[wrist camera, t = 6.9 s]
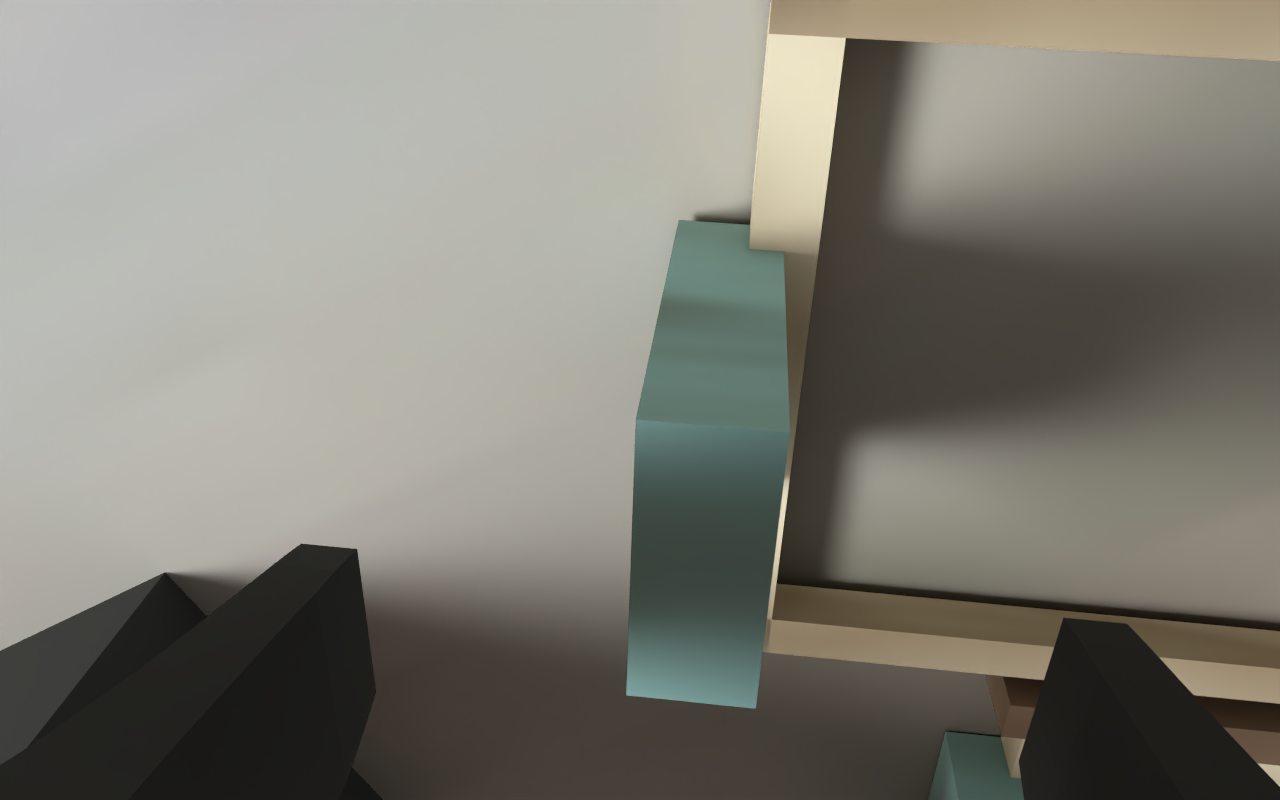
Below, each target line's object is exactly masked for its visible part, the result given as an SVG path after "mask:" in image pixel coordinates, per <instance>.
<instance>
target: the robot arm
mask: <svg viewBox="0 0 1280 800" xmlns="http://www.w3.org/2000/svg"><path fill="white" fill-rule="evenodd" d="M375 693H376V689H375V681H374V673H373V666H372V658H371V651H370V643H369V636H368V628H367V621H366V613H365V605H364V598H363V590H362V583H361V575H360V568H359V560H358V552H357V549H350V548H340V547H329V546H319V545H309V544H300V545H299V546H297V547H296V548H295V549H293V550H292V551H291V552H289V553H288V554H287V555H285V556H284V557H283V558H281V559H280V560H279V561H278V562H276V563H275V564H274V565H272V566H271V567H270V568H269V569H267V570H266V571H265V572H264V573H262V574H261V575H260V576H259V577H257V578H256V579H255V580H253V581H252V582H251V583H250V584H248V585H247V586H246V587H245V588H243V589H242V590H241V591H240V592H238V593H237V594H236V595H235V596H233V597H232V598H231V599H230V600H228V601H227V602H226V603H224V604H223V605H222V606H221V607H219V608H218V609H217V610H216V611H214V612H213V613H212V614H210V615H209V616H208V617H207V618H205V619H204V620H203V621H202V622H200V623H199V624H198V625H196V626H195V627H194V628H192V629H191V630H190V631H188V632H187V633H186V634H185V635H183V636H182V637H181V638H179V639H178V640H177V641H175V642H174V643H173V644H171V645H170V646H169V647H168V648H166V649H165V650H164V651H162V652H161V653H160V654H158V655H157V656H156V657H154V658H153V659H152V660H151V661H149V662H148V663H147V664H145V665H144V666H143V667H141V668H140V669H139V670H137V671H136V672H135V673H133V674H132V675H130V676H129V677H128V678H126V679H125V680H123V681H122V682H121V683H119V684H118V685H116V686H115V687H113V688H112V689H111V690H109V691H108V692H106V693H105V694H103V695H102V696H101V697H99V698H98V699H96V700H95V701H93V702H92V703H91V704H89V705H88V706H86V707H85V708H84V709H82V710H81V711H79V712H78V713H76V714H75V715H74V716H72V717H71V718H69V719H68V720H66V721H65V722H64V723H62V724H61V725H59V726H58V727H56V728H55V729H54V730H52V731H51V732H49V733H48V734H47V735H45V736H44V737H42V738H41V739H39V740H38V741H36V742H35V743H33V744H32V745H30V746H29V747H27V748H26V749H24V750H23V751H21V752H20V753H18V754H17V755H15V756H14V757H12V758H10V759H9V760H7V761H6V762H4V763H3V764H1V765H0V800H338V799H339V797H340V795H341V793H342V790H343V788H344V786H345V784H346V782H347V779H348V776H349V773H350V770H351V767H352V764H353V761H354V758H355V755H356V752H357V749H358V747H359V744H360V741H361V738H362V734H363V731H364V728H365V725H366V722H367V719H368V715H369V712H370V709H371V706H372V703H373V699H374V696H375ZM1019 768H1020V775H1021V782H1022V789H1023V796H1024V800H1280V786H1279V785H1278V784H1277V783H1276V782H1275V781H1274V780H1273V779H1272V778H1271V777H1270V776H1269V775H1268V774H1267V773H1266V772H1265V771H1264V770H1263V769H1262V768H1261V767H1260V766H1259V765H1258V764H1257V763H1256V762H1255V761H1254V759H1253V758H1252V757H1251V756H1250V755H1249V754H1248V753H1247V752H1246V751H1245V750H1244V749H1243V748H1242V747H1241V746H1240V745H1239V744H1238V742H1237V741H1236V740H1235V739H1234V738H1233V737H1232V736H1231V735H1230V734H1229V733H1228V732H1227V731H1226V730H1225V729H1224V727H1223V726H1222V725H1221V724H1220V723H1219V722H1218V721H1217V720H1216V719H1215V718H1214V717H1213V716H1212V715H1211V713H1210V712H1209V711H1208V710H1207V709H1206V708H1205V707H1204V706H1203V705H1202V704H1201V703H1200V702H1199V700H1198V699H1197V698H1196V697H1195V696H1194V695H1193V694H1192V693H1191V692H1190V691H1189V690H1188V688H1187V687H1186V686H1185V685H1184V684H1183V683H1182V682H1181V681H1180V680H1179V679H1178V678H1177V676H1176V675H1175V674H1174V673H1173V672H1172V671H1171V670H1170V669H1169V668H1168V667H1167V666H1166V664H1165V663H1164V662H1163V661H1162V660H1161V659H1160V658H1159V657H1158V656H1157V655H1156V654H1155V652H1154V651H1153V650H1152V649H1151V648H1150V647H1149V646H1148V645H1147V644H1146V643H1145V642H1144V641H1143V640H1142V639H1141V638H1140V637H1139V635H1138V634H1137V633H1136V632H1135V631H1134V630H1133V629H1132V628H1131V627H1130V626H1129V625H1128V624H1126V623H1115V622H1105V621H1095V620H1084V619H1074V618H1064V617H1063V620H1062V624H1061V627H1060V630H1059V633H1058V636H1057V640H1056V643H1055V646H1054V649H1053V652H1052V656H1051V659H1050V662H1049V665H1048V668H1047V672H1046V675H1045V678H1044V681H1043V684H1042V688H1041V691H1040V694H1039V697H1038V701H1037V704H1036V707H1035V710H1034V713H1033V717H1032V720H1031V723H1030V726H1029V729H1028V733H1027V736H1026V739H1025V742H1024V745H1023V749H1022V752H1021V755H1020V758H1019Z"/></svg>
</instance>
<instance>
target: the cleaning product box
mask: <svg viewBox="0 0 1280 800" xmlns="http://www.w3.org/2000/svg"><path fill="white" fill-rule="evenodd" d="M205 618H207V616H206V615H205V614H204V613H203V612H202V611H201V610H200V609H199V608H198V607H197V606H196V604H195V603H194V602H193V601H192V600H191V599H190V598H189V597H188V596H187V595H186V594H185V593H184V592H183V591H182V590H181V589H180V588H179V587H178V586H177V585H176V584H175V583H174V582H173V581H172V579H171V578H170V577H169V576H168V575H167V574H166V573H163V574H161V575H159V576H156V577H154V578H152V579H150V580H148V581H146V582H144V583H142V584H140V585H138V586H135V587H133V588H131V589H129V590H127V591H125V592H123V593H121V594H119V595H117V596H115V597H112V598H110V599H108V600H106V601H104V602H102V603H100V604H98V605H96V606H94V607H91V608H89V609H87V610H85V611H83V612H81V613H79V614H77V615H75V616H73V617H70V618H68V619H66V620H64V621H62V622H60V623H58V624H56V625H54V626H52V627H49V628H47V629H45V630H43V631H41V632H39V633H37V634H35V635H33V636H31V637H29V638H26V639H24V640H22V641H20V642H18V643H16V644H14V645H12V646H10V647H8V648H5V649H3V650H1V651H0V765H1V764H3V763H4V762H6V761H7V760H9V759H10V758H12V757H14V756H15V755H17V754H18V753H20V752H21V751H23V750H24V749H26V748H27V747H29V746H30V745H32V744H33V743H35V742H36V741H38V740H39V739H41V738H42V737H44V736H45V735H47V734H48V733H49V732H51V731H52V730H54V729H55V728H56V727H58V726H59V725H61V724H62V723H64V722H65V721H66V720H68V719H69V718H71V717H72V716H74V715H75V714H76V713H78V712H79V711H81V710H82V709H84V708H85V707H86V706H88V705H89V704H91V703H92V702H93V701H95V700H96V699H98V698H99V697H101V696H102V695H103V694H105V693H106V692H108V691H109V690H111V689H112V688H113V687H115V686H116V685H118V684H119V683H121V682H122V681H123V680H125V679H126V678H128V677H129V676H130V675H132V674H133V673H135V672H136V671H137V670H139V669H140V668H141V667H143V666H144V665H145V664H147V663H148V662H149V661H151V660H152V659H153V658H154V657H156V656H157V655H158V654H160V653H161V652H162V651H164V650H165V649H166V648H168V647H169V646H170V645H171V644H173V643H174V642H175V641H177V640H178V639H179V638H181V637H182V636H183V635H185V634H186V633H187V632H188V631H190V630H191V629H192V628H194V627H195V626H196V625H198V624H199V623H200V622H202V621H203V620H204V619H205ZM338 800H383V799H382V798H381V797H380V796H379V795H378V794H377V793H376V792H375V791H374V790H373V789H372V788H371V787H370V786H369V785H368V784H367V783H366V782H365V780H364V779H363V778H362V777H361V776H360V775H359V774H358V773H357V772H356V771H355V770H354V769H353V768H352V767H351V770H350V773H349V776H348V779H347V782H346V784H345V786H344V788H343V790H342V793H341V795H340V797H339V799H338Z"/></svg>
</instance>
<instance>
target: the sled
mask: <svg viewBox="0 0 1280 800" xmlns="http://www.w3.org/2000/svg"><path fill="white" fill-rule="evenodd" d="M846 38H856V39H875V40H894V41H912V42H931V43H950V44H968V45H987V46H1006V47H1024V48H1043V49H1062V50H1080V51H1099V52H1118V53H1137V54H1155V55H1174V56H1193V57H1211V58H1230V59H1249V60H1267V61H1280V0H770V10H769V21H768V32H767V43H766V54H765V65H764V76H763V88H762V99H761V110H760V121H759V132H758V143H757V154H756V165H755V176H754V187H753V198H752V210H751V221H750V225H744V224H729V223H715V222H700V221H685V220H679V222H678V226H677V231H676V236H675V240H674V245H673V249H672V254H671V259H670V263H669V268H668V273H667V277H666V282H665V287H664V291H663V296H662V300H661V305H660V310H659V314H658V319H657V324H656V328H655V333H654V338H653V342H652V347H651V352H650V356H649V361H648V365H647V370H646V375H645V379H644V384H643V389H642V393H641V398H640V403H639V407H638V412H637V416H636V429H635V458H634V487H633V516H632V545H631V574H630V603H629V632H628V661H627V690H626V695H628V696H638V697H648V698H657V699H667V700H676V701H686V702H696V703H705V704H715V705H724V706H734V707H744V708H753V709H756V703H757V695H758V686H759V678H760V670H761V662H762V654H763V652H766V653H776V654H786V655H796V656H806V657H816V658H826V659H836V660H846V661H856V662H866V663H876V664H886V665H897V666H907V667H917V668H927V669H937V670H947V671H957V672H967V673H977V674H987V675H997V676H1007V677H1017V678H1027V679H1037V680H1044V678H1045V675H1046V672H1047V668H1048V665H1049V662H1050V659H1051V656H1052V652H1053V649H1054V646H1055V643H1056V640H1057V636H1058V633H1059V630H1060V627H1061V624H1062V620H1063V617H1064V618H1074V619H1084V620H1095V621H1105V622H1115V623H1126V624H1128V625H1129V626H1130V627H1131V628H1132V629H1133V630H1134V631H1135V632H1136V633H1137V634H1138V635H1139V637H1140V638H1141V639H1142V640H1143V641H1144V642H1145V643H1146V644H1147V645H1148V646H1149V647H1150V648H1151V649H1152V650H1153V651H1154V652H1155V654H1156V655H1157V656H1158V657H1159V658H1160V659H1161V660H1162V661H1163V662H1164V663H1165V664H1166V666H1167V667H1168V668H1169V669H1170V670H1171V671H1172V672H1173V673H1174V674H1175V675H1176V676H1177V678H1178V679H1179V680H1180V681H1181V682H1182V683H1183V684H1184V685H1185V686H1186V687H1187V688H1188V690H1189V691H1190V692H1191V693H1192V694H1193V695H1197V696H1207V697H1217V698H1227V699H1237V700H1247V701H1257V702H1267V703H1277V704H1280V631H1272V630H1261V629H1251V628H1240V627H1230V626H1219V625H1208V624H1198V623H1187V622H1177V621H1166V620H1156V619H1145V618H1134V617H1124V616H1113V615H1103V614H1092V613H1082V612H1071V611H1060V610H1050V609H1039V608H1029V607H1018V606H1008V605H997V604H986V603H976V602H965V601H955V600H944V599H934V598H923V597H912V596H902V595H891V594H881V593H870V592H860V591H849V590H838V589H828V588H817V587H807V586H796V585H786V584H776V583H777V575H778V567H779V559H780V551H781V543H782V536H783V528H784V520H785V512H786V504H787V496H788V488H789V481H790V473H791V465H792V457H793V449H794V441H795V433H796V426H797V418H798V410H799V402H800V394H801V386H802V378H803V371H804V363H805V355H806V347H807V339H808V331H809V323H810V316H811V308H812V300H813V292H814V284H815V276H816V268H817V261H818V253H819V245H820V237H821V229H822V221H823V213H824V206H825V198H826V190H827V182H828V174H829V166H830V158H831V151H832V143H833V135H834V127H835V119H836V111H837V103H838V96H839V88H840V80H841V72H842V64H843V56H844V48H845V41H846Z"/></svg>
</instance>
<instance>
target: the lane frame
mask: <svg viewBox="0 0 1280 800" xmlns="http://www.w3.org/2000/svg"><path fill="white" fill-rule="evenodd" d="M986 677H987V681H988V685H989V689H990V693H991V697H992V701H993V705H994V709H995V713H996V717H997V721H998V725H999V729H1000V733H1001V737H994V736H984V735H974V734H965V733H955V732H945V735H944V739H943V743H942V747H941V751H940V755H939V759H938V763H937V766H936V770H935V774H934V778H933V782H932V786H931V790H930V793H929V797H928V800H1024V796H1023V789H1022V782H1021V775H1020V768H1019V758H1020V755H1021V752H1022V749H1023V745H1024V742H1025V739H1026V736H1027V733H1028V729H1029V726H1030V723H1031V720H1032V717H1033V713H1034V710H1035V707H1036V704H1037V701H1038V697H1039V694H1040V691H1041V688H1042V684H1043V681H1044V680H1037V679H1027V678H1017V677H1007V676H997V675H987V676H986ZM1194 696H1195V697H1196V698H1197V699H1198V700H1199V702H1200V703H1201V704H1202V705H1203V706H1204V707H1205V708H1206V709H1207V710H1208V711H1209V712H1210V713H1211V715H1212V716H1213V717H1214V718H1215V719H1216V720H1217V721H1218V722H1219V723H1220V724H1221V725H1222V726H1223V727H1224V729H1225V730H1226V731H1227V732H1228V733H1229V734H1230V735H1231V736H1232V737H1233V738H1234V739H1235V740H1236V741H1237V742H1238V744H1239V745H1240V746H1241V747H1242V748H1243V749H1244V750H1245V751H1246V752H1247V753H1248V754H1249V755H1250V756H1251V757H1252V758H1253V759H1254V761H1255V762H1256V763H1257V764H1258V765H1259V766H1260V767H1261V768H1262V769H1263V770H1264V771H1265V772H1266V773H1267V774H1268V775H1269V776H1270V777H1271V778H1272V779H1273V780H1274V781H1275V782H1276V783H1277V784H1278V785H1279V786H1280V704H1277V703H1267V702H1257V701H1247V700H1237V699H1227V698H1217V697H1207V696H1197V695H1194Z"/></svg>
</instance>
